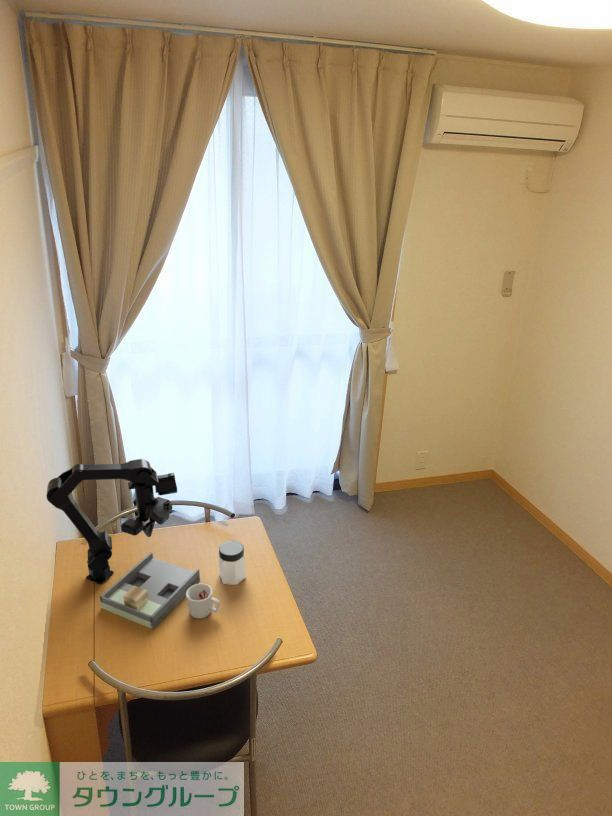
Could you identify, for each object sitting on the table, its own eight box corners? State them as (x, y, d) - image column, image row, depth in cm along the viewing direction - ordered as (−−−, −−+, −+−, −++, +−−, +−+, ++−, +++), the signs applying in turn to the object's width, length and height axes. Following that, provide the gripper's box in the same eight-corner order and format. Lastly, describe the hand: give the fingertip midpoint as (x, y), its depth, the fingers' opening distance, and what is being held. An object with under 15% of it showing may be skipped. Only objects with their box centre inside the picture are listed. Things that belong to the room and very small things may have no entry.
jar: (217, 571, 186) (215, 542, 181) (240, 565, 189) (239, 537, 184) (224, 588, 179) (222, 558, 174) (247, 582, 181) (247, 552, 177)
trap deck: (101, 608, 169) (99, 596, 167) (151, 562, 189) (150, 552, 188) (153, 629, 162) (151, 617, 160) (199, 579, 182) (199, 569, 180)
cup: (226, 609, 170) (225, 589, 167) (214, 627, 163) (212, 606, 160) (195, 600, 173) (194, 580, 170) (182, 617, 166) (180, 597, 163)
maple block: (124, 605, 167) (123, 595, 165) (135, 595, 171) (134, 585, 170) (137, 611, 165) (136, 600, 163) (148, 600, 169) (147, 590, 168)
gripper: (145, 518, 166) (150, 559, 173) (182, 489, 182) (185, 527, 188) (117, 509, 171) (122, 549, 177) (155, 481, 186) (159, 519, 192)
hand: (149, 536), depth 183 cm, fingers closed
